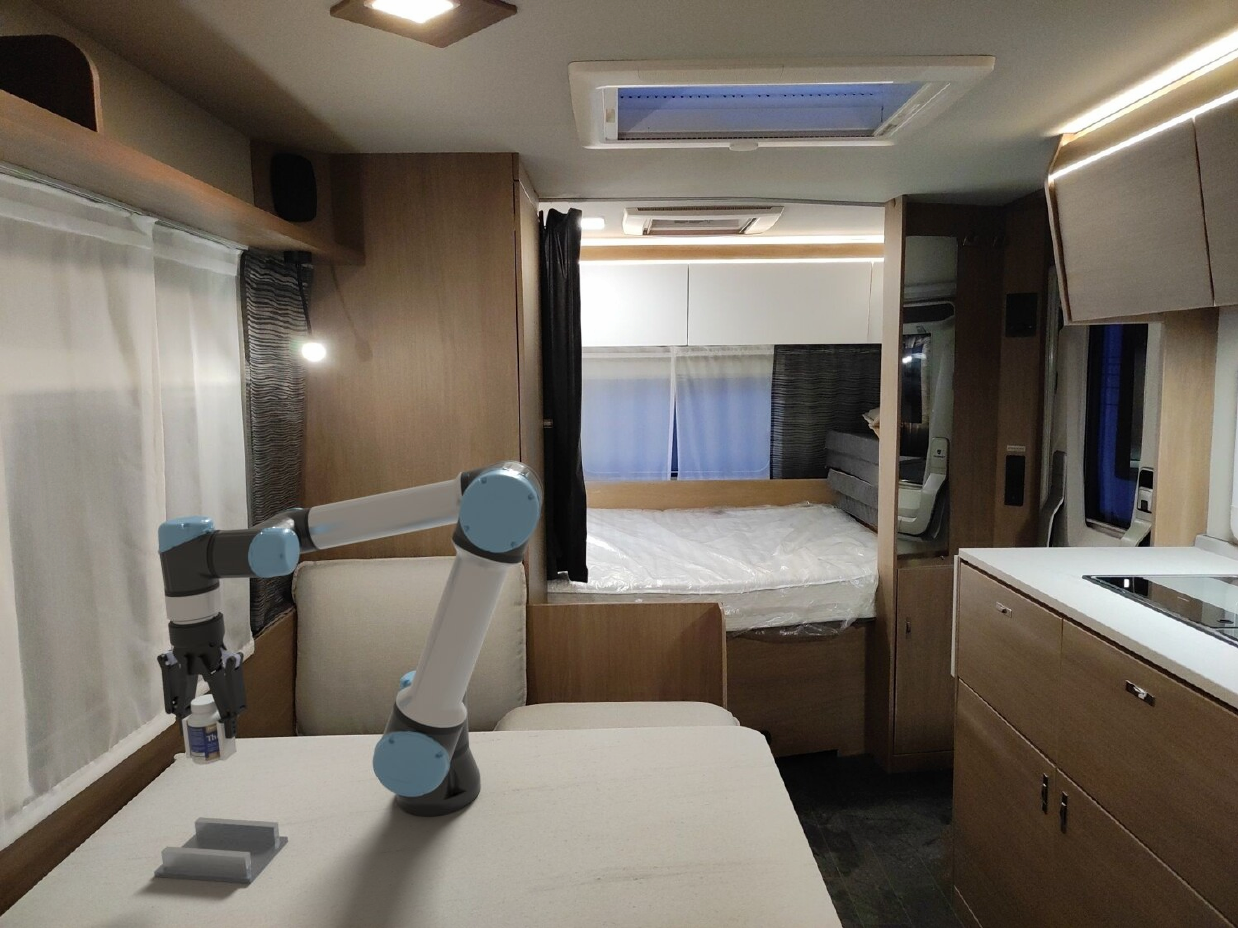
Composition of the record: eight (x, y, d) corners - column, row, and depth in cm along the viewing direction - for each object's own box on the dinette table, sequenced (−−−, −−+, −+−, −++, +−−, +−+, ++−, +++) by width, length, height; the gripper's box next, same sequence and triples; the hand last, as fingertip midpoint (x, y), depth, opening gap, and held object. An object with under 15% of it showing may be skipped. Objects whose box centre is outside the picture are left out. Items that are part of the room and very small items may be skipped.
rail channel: (287, 841, 120) (286, 819, 120) (250, 883, 110) (248, 860, 110) (199, 835, 122) (197, 814, 122) (154, 876, 112) (152, 853, 112)
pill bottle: (212, 767, 113) (205, 708, 112) (184, 763, 115) (177, 705, 113) (238, 749, 119) (232, 693, 117) (210, 746, 120) (204, 690, 118)
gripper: (264, 609, 116) (278, 745, 119) (162, 606, 119) (178, 739, 122) (232, 626, 108) (247, 771, 111) (124, 622, 111) (142, 764, 114)
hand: (211, 754), depth 117 cm, fingers closed on pill bottle, 5 cm apart
